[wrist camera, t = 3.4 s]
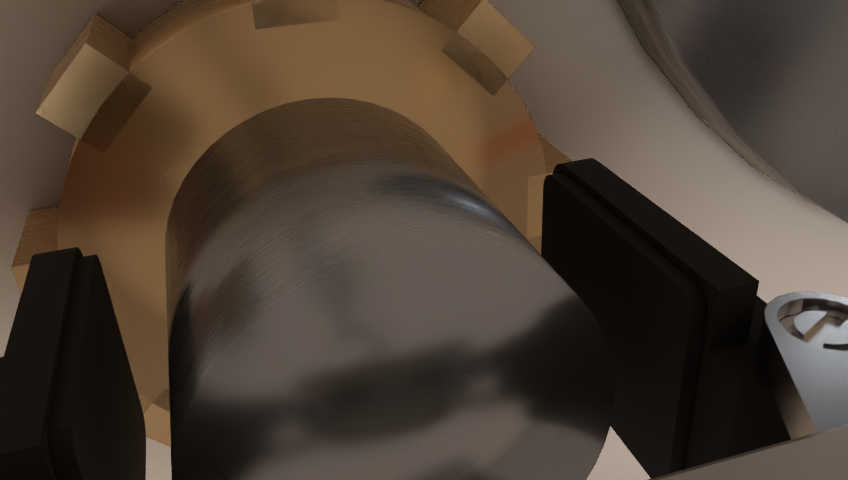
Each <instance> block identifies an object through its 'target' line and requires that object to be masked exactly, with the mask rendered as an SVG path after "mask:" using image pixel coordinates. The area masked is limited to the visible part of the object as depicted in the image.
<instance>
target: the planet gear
mask: <svg viewBox="0 0 848 480" xmlns="http://www.w3.org/2000/svg"><path fill="white" fill-rule="evenodd" d="M534 48H535V47H534V46H533V45H532V44H531V43H530V42H529V41H528V40H527V39H526V38H525V37H524V36H523V35H522V34H521V33H520V32H519V31H518V30H517V29H516V28H515V27H514V26H513V25H512V24H511V23H510V22H509V21H508V20H507V19H506V18H505V17H504V16H503V15H502V14H501V13H499V12H498V11H497V10H496V9H495V8H494V7H493V6H492V5H491V4H490V3H489V2H488V1H487V0H423V1H422V2H421V4H420V5H419V6H416V5H414V4H413V3H411V2H409V1H407V0H186V1H184V2H182V3H180V4H179V5H177V6H176V7H174V8H172V9H171V10H169V11H168V12H166V13H165V14H163V15H162V16H160V17H159V18H157V19H156V20H154V21H153V22H152V23H151V24H150V25H148V26H147V27H146V28H145V29H144V30H143V31H142V32H140V33H139V34H138V35H137V36H136V37H135V38H134V39H132V38H130V37H129V36H127V35H126V34H125V33H123V32H122V31H120V30H119V29H117V28H116V27H115V26H113V25H112V24H110V23H109V22H107V21H106V20H104V19H103V18H102V17H100V16H99V15H97V14H96V13H95V14H94V15H93V17H92V18H91V19H90V21H89V22H88V24H87V25H86V26H85V28H84V29H83V31H82V32H81V33H80V35H79V36H78V38H77V39H76V40H75V42H74V43H73V45H72V46H71V47H70V49H69V50H68V52H67V53H66V54H65V56H64V57H63V59H62V60H61V61H60V63H59V64H58V66H57V67H56V68H55V70H54V71H53V73H52V74H51V77H50V79H49V81H48V84H47V86H46V89H45V91H44V94H43V96H42V98H41V101H40V103H39V106H38V108H37V111H36V114H38V115H39V116H41V117H43V118H44V119H46V120H48V121H49V122H51V123H53V124H54V125H56V126H58V127H59V128H61V129H63V130H64V131H66V132H68V133H70V134H71V135H73V136H75V137H76V138H75V142H74V145H73V149H72V153H71V157H70V161H69V165H68V169H67V173H66V177H65V181H64V185H63V190H62V194H61V198H60V205H59V206H56V207H50V208H44V209H38V210H31V211H29V214H28V217H27V220H26V223H25V226H24V229H23V233H22V236H21V239H20V242H19V245H18V248H17V251H16V254H15V257H14V261H13V264H12V267H11V268H12V271H13V274H14V277H15V280H16V282H17V285H18V288H19V291H20V294H22V290H23V287H24V283H25V279H26V276H27V272H28V269H29V265H30V262H31V258H32V256H33V255H34V254H39V253H45V252H51V251H57V250H63V249H68V248H74V247H78V248H79V249H80V250H81V252H82V254H83V257H84V256H90V255H97V256H98V258H99V260H100V263H101V266H102V269H103V273H104V276H105V280H106V283H107V287H108V290H109V294H110V297H111V301H112V304H113V308H114V311H115V315H116V318H117V322H118V325H119V329H120V332H121V336H122V339H123V343H124V346H125V350H126V353H127V357H128V360H129V364H130V367H131V371H132V375H133V378H134V382H135V385H136V389H137V392H138V396H139V399H140V403H141V406H142V410H143V415H144V420H145V428H146V437H148V438H151V439H153V440H156V441H158V442H161V443H163V444H165V445H168V446H170V447H171V466H172V480H586V479H587V477H588V476H589V474H590V472H591V471H592V469H593V467H594V465H595V464H596V461H597V459H598V457H599V455H600V452H601V450H602V448H603V446H604V443H605V440H606V437H607V434H608V431H609V427H610V424H611V420H612V414H613V408H614V402H615V373H614V365H613V358H612V354H611V351H610V348H609V345H608V342H607V339H606V336H605V334H604V332H603V330H602V329H601V327H600V325H599V323H598V321H597V319H596V317H595V316H594V315H593V313H592V312H591V311H590V310H589V308H588V307H587V306H586V304H585V303H584V302H583V301H582V299H581V298H580V297H579V296H578V295H577V294H576V293H575V292H574V291H573V290H572V288H571V287H570V286H569V285H568V284H567V283H566V282H565V281H564V280H563V279H562V278H561V276H560V275H559V274H558V273H557V272H556V271H555V270H554V269H553V268H552V267H551V266H550V264H549V263H548V262H547V261H546V260H545V259H544V258H543V257H542V256H541V255H540V253H541V241H542V208H543V184H544V179H545V177H546V176H547V175H551V174H553V171H554V168H555V167H556V165H557V164H561V163H567V162H573V161H572V160H570V159H569V158H568V157H567V156H565V155H564V154H563V153H561V152H560V151H559V150H558V149H556V148H555V147H554V146H553V145H551V144H550V143H549V142H548V141H546V140H545V139H544V138H542V137H541V136H540V135H539V134H537V131H536V128H535V125H534V123H533V121H532V119H531V117H530V115H529V113H528V111H527V109H526V107H525V105H524V103H523V101H522V99H521V98H520V96H519V95H518V93H517V92H516V90H515V89H514V87H513V86H512V85H511V83H510V82H509V80H508V79H509V77H510V76H511V75H512V74H513V73H514V72H515V70H516V69H517V68H518V67H519V66H520V64H521V63H522V62H523V61H524V60H525V58H526V57H527V56H528V55H529V54H530V53H531V51H532V50H533V49H534Z"/></svg>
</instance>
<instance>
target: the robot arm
mask: <svg viewBox="0 0 848 480" xmlns="http://www.w3.org/2000/svg"><path fill="white" fill-rule="evenodd" d="M541 256H542V257H543V258H544V259H545V260H546V261H547V262H548V263H549V264H550V266H551V267H552V268H553V269H554V270H555V271H556V272H557V273H558V274H559V275H560V276H561V278H562V279H563V280H564V281H565V282H566V283H567V284H568V285H569V286H570V287H571V288H572V290H573V291H574V292H575V293H576V294H577V295H578V296H579V297H580V298H581V299H582V301H583V302H584V303H585V304H586V306H587V307H588V308H589V310H590V311H591V312H592V313H593V315H594V316H595V317H596V319H597V321H598V323H599V325H600V327H601V329H602V330H603V332H604V334H605V336H606V339H607V342H608V345H609V348H610V351H611V354H612V358H613V365H614V373H615V402H614V408H613V414H612V420H611V424H610V426H611V427H612V428H613V430H614V431H615V432H616V434H617V435H618V436H619V437H620V439H621V440H622V441H623V443H624V444H625V445H626V446H627V448H628V449H629V450H630V452H631V453H632V454H633V456H634V457H635V458H636V459H637V461H638V462H639V463H640V465H641V466H642V467H643V469H644V470H645V471H646V472H647V474H648V475H649V476H650V478H651V479H649V480H848V299H847V298H844V297H840V296H836V295H832V294H827V293H818V292H794V293H788V294H785V295H781V296H778V297H776V298H775V299H773V300H772V301H770V302H769V303H768V304H767V303H766V302H764V301H763V300H762V299H760V298H759V297H758V296H756V295H757V290H758V284H759V281H758V280H757V279H755V278H754V277H753V276H751V275H750V274H749V273H747V272H746V271H745V270H743V269H742V268H741V267H739V266H738V265H737V264H735V263H734V262H733V261H731V260H730V259H729V258H727V257H726V256H724V255H723V254H722V253H720V252H719V251H718V250H716V249H715V248H714V247H712V246H711V245H710V244H708V243H707V242H706V241H704V240H703V239H702V238H700V237H699V236H698V235H696V234H695V233H694V232H692V231H691V230H690V229H688V228H687V227H685V226H684V225H683V224H681V223H680V222H679V221H677V220H676V219H675V218H673V217H672V216H671V215H669V214H668V213H667V212H665V211H664V210H663V209H661V208H660V207H659V206H657V205H656V204H655V203H653V202H652V201H651V200H649V199H648V198H646V197H645V196H644V195H642V194H641V193H640V192H638V191H637V190H636V189H634V188H633V187H632V186H630V185H629V184H628V183H626V182H625V181H624V180H622V179H621V178H620V177H618V176H617V175H616V174H614V173H613V172H612V171H610V170H609V169H608V168H606V167H605V166H603V165H602V164H601V163H599V162H598V161H597V160H595V159H593V158H590V159H584V160H578V161H573V162H567V163H561V164H557V165H556V167H555V168H554V171H553V174H551V175H547V176H546V177H545V179H544V184H543V208H542V241H541ZM145 475H146V428H145V420H144V415H143V410H142V406H141V403H140V399H139V396H138V392H137V389H136V385H135V382H134V378H133V375H132V371H131V367H130V364H129V360H128V357H127V353H126V350H125V346H124V343H123V339H122V336H121V332H120V329H119V325H118V322H117V318H116V315H115V311H114V308H113V304H112V301H111V297H110V294H109V290H108V287H107V283H106V280H105V276H104V273H103V269H102V266H101V263H100V260H99V258H98V256H97V255H90V256H84V257H83V254H82V252H81V250H80V249H79V248H78V247H74V248H68V249H63V250H57V251H51V252H45V253H39V254H34V255H33V256H32V258H31V262H30V265H29V269H28V272H27V276H26V279H25V283H24V287H23V290H22V294H21V297H20V301H19V304H18V308H17V312H16V315H15V319H14V322H13V326H12V329H11V333H10V336H9V340H8V344H7V347H6V351H5V354H4V357H0V480H145Z"/></svg>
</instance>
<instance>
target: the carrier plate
mask: <svg viewBox="0 0 848 480" xmlns="http://www.w3.org/2000/svg"><path fill="white" fill-rule="evenodd" d="M618 1H619V3H620V5H621V7H622V9H623V10H624V12H625V14H626V16H627V18H628V20H629V21H630V23H631V25H632V27H633V29H634V30H635V32H636V34H637V36H638V38H639V40H640V41H641V43H642V45H643V47H644V48H645V50H646V51H647V52H648V53H649V55H650V56H651V57H652V59H653V60H654V61H655V62H656V64H657V65H658V66H659V68H660V69H661V70H662V72H663V73H664V74H665V75H666V77H667V78H668V79H669V81H670V82H671V83H672V84H673V86H674V87H675V88H676V90H677V91H678V92H679V93H680V95H681V96H682V97H683V99H684V100H685V101H686V103H687V104H688V105H689V106H690V108H691V109H692V110H693V112H694V113H695V114H696V115H697V117H699V118H700V119H701V120H702V121H703V122H704V123H705V124H706V125H707V126H708V127H710V128H711V129H712V130H713V131H714V132H715V133H716V134H717V135H718V136H719V137H721V138H722V139H723V140H724V141H725V142H726V143H727V144H728V145H729V146H730V147H732V148H733V149H734V150H735V151H736V152H737V153H738V154H739V155H740V156H741V157H743V158H744V159H745V160H746V161H747V162H748V163H749V164H750V165H751V166H752V167H754V168H756V169H757V170H759V171H761V172H762V173H764V174H766V175H767V176H769V177H770V178H772V179H774V180H775V181H777V182H779V183H780V184H782V185H784V186H785V187H787V188H788V189H790V190H792V191H793V192H795V193H797V194H798V195H800V196H801V197H803V198H805V199H806V200H808V201H810V202H811V203H813V204H815V205H817V206H819V207H820V208H822V209H824V210H826V211H827V212H829V213H831V214H833V215H834V216H836V217H838V218H840V219H842V220H843V221H845V222H847V223H848V0H618Z"/></svg>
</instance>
